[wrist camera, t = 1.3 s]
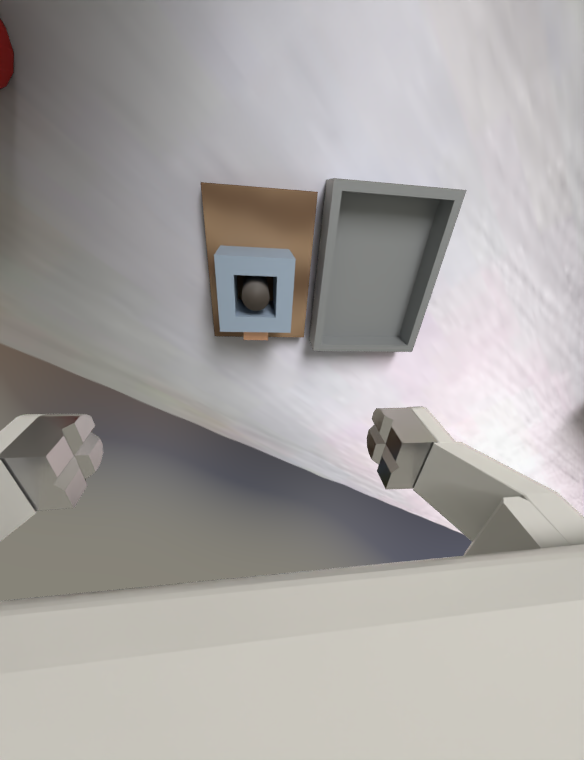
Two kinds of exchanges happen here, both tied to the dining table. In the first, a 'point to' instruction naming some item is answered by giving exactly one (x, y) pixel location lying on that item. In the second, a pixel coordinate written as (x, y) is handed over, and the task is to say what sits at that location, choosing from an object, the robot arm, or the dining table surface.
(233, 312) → the collar
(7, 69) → the plastic cup
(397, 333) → the tray
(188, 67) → the dining table surface
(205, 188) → the board
